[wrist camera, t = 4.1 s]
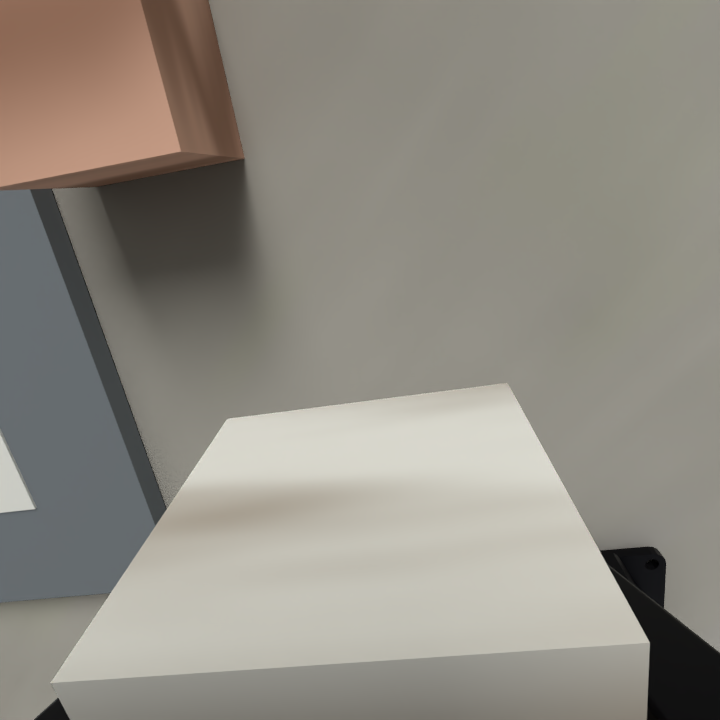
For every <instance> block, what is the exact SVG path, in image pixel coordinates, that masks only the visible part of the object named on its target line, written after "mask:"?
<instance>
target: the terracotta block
mask: <svg viewBox="0 0 720 720" xmlns="http://www.w3.org/2000/svg"><path fill="white" fill-rule="evenodd" d="M240 159H245V158H244V154H243V149H242V145H241V141H240V136H239V132H238V128H237V123H236V119H235V115H234V110H233V106H232V102H231V97H230V93H229V89H228V84H227V80H226V75H225V71H224V67H223V62H222V58H221V54H220V49H219V45H218V41H217V36H216V32H215V28H214V23H213V19H212V15H211V10H210V6H209V2H208V0H0V191H1V190H27V189H53V188H78V187H98V186H103V185H109V184H114V183H119V182H124V181H130V180H135V179H140V178H145V177H151V176H156V175H161V174H166V173H171V172H177V171H182V170H187V169H192V168H198V167H203V166H208V165H213V164H219V163H224V162H229V161H234V160H240Z"/></svg>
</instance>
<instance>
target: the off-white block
mask: <svg viewBox="0 0 720 720" xmlns="http://www.w3.org/2000/svg"><path fill="white" fill-rule="evenodd" d="M649 653H650V642H649V640H648V638H647V637H646V635H645V633H644V631H643V629H642V627H641V626H640V624H639V622H638V620H637V618H636V616H635V615H634V613H633V611H632V609H631V607H630V606H629V604H628V602H627V600H626V598H625V596H624V595H623V593H622V591H621V589H620V587H619V586H618V584H617V582H616V580H615V578H614V576H613V575H612V573H611V571H610V569H609V567H608V565H607V564H606V562H605V560H604V558H603V556H602V555H601V553H600V551H599V549H598V547H597V545H596V544H595V542H594V540H593V538H592V536H591V534H590V533H589V531H588V529H587V527H586V525H585V524H584V522H583V520H582V518H581V516H580V514H579V513H578V511H577V509H576V507H575V505H574V503H573V502H572V500H571V498H570V496H569V494H568V493H567V491H566V489H565V487H564V485H563V483H562V482H561V480H560V478H559V476H558V474H557V473H556V471H555V469H554V467H553V465H552V463H551V462H550V460H549V458H548V456H547V454H546V452H545V451H544V449H543V447H542V445H541V443H540V442H539V440H538V438H537V436H536V434H535V432H534V431H533V429H532V427H531V425H530V423H529V421H528V420H527V418H526V416H525V414H524V412H523V411H522V409H521V407H520V405H519V403H518V401H517V400H516V398H515V396H514V394H513V392H512V391H511V389H510V387H509V385H508V383H503V384H495V385H488V386H480V387H472V388H464V389H456V390H449V391H441V392H433V393H425V394H417V395H410V396H402V397H394V398H386V399H379V400H371V401H363V402H355V403H347V404H340V405H332V406H324V407H316V408H309V409H301V410H293V411H285V412H277V413H270V414H262V415H254V416H246V417H238V418H231V419H227V420H226V422H225V423H224V425H223V426H222V428H221V429H220V431H219V432H218V434H217V435H216V437H215V438H214V440H213V441H212V443H211V444H210V445H209V447H208V448H207V450H206V451H205V453H204V454H203V456H202V457H201V459H200V460H199V462H198V463H197V465H196V466H195V468H194V469H193V471H192V472H191V474H190V475H189V477H188V478H187V480H186V481H185V483H184V484H183V486H182V487H181V489H180V490H179V492H178V493H177V495H176V496H175V498H174V499H173V501H172V502H171V504H170V505H169V507H168V508H167V510H166V511H165V513H164V514H163V516H162V517H161V519H160V520H159V522H158V523H157V525H156V526H155V528H154V529H153V531H152V532H151V534H150V535H149V537H148V538H147V540H146V541H145V543H144V544H143V546H142V547H141V549H140V550H139V552H138V553H137V555H136V556H135V558H134V559H133V560H132V562H131V563H130V565H129V566H128V568H127V569H126V571H125V572H124V574H123V575H122V577H121V578H120V580H119V581H118V583H117V584H116V586H115V587H114V589H113V590H112V592H111V593H110V595H109V596H108V598H107V599H106V601H105V602H104V604H103V605H102V607H101V608H100V610H99V611H98V613H97V614H96V616H95V617H94V619H93V620H92V622H91V623H90V625H89V626H88V628H87V629H86V631H85V632H84V634H83V635H82V637H81V638H80V640H79V641H78V643H77V644H76V646H75V647H74V649H73V650H72V652H71V653H70V655H69V656H68V658H67V659H66V661H65V662H64V664H63V665H62V667H61V668H60V670H59V671H58V673H57V674H56V675H55V677H54V678H53V680H52V681H51V685H52V687H53V689H54V691H55V692H56V694H57V696H58V698H59V700H60V702H61V704H62V706H63V707H64V709H65V711H66V713H67V715H68V717H69V719H70V720H647V702H648V677H649Z"/></svg>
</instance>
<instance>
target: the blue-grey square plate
mask: <svg viewBox="0 0 720 720" xmlns="http://www.w3.org/2000/svg"><path fill="white" fill-rule="evenodd" d="M165 511H166V507H165V505H164V502H163V499H162V496H161V494H160V491H159V488H158V485H157V482H156V480H155V477H154V474H153V471H152V468H151V466H150V463H149V460H148V457H147V455H146V452H145V449H144V446H143V443H142V441H141V438H140V435H139V432H138V430H137V427H136V424H135V421H134V418H133V416H132V413H131V410H130V407H129V404H128V402H127V399H126V396H125V393H124V391H123V388H122V385H121V382H120V379H119V377H118V374H117V371H116V368H115V365H114V363H113V360H112V357H111V354H110V352H109V349H108V346H107V343H106V340H105V338H104V335H103V332H102V329H101V327H100V324H99V321H98V318H97V315H96V313H95V310H94V307H93V304H92V301H91V299H90V296H89V293H88V290H87V288H86V285H85V282H84V279H83V276H82V274H81V271H80V268H79V265H78V262H77V260H76V257H75V254H74V251H73V249H72V246H71V243H70V240H69V237H68V235H67V232H66V229H65V226H64V224H63V221H62V218H61V215H60V212H59V210H58V207H57V204H56V201H55V198H54V196H53V193H52V190H51V189H27V190H1V191H0V602H12V601H23V600H35V599H46V598H58V597H70V596H81V595H93V594H104V593H111V592H112V590H113V589H114V587H115V586H116V584H117V583H118V581H119V580H120V578H121V577H122V575H123V574H124V572H125V571H126V569H127V568H128V566H129V565H130V563H131V562H132V560H133V559H134V558H135V556H136V555H137V553H138V552H139V550H140V549H141V547H142V546H143V544H144V543H145V541H146V540H147V538H148V537H149V535H150V534H151V532H152V531H153V529H154V528H155V526H156V525H157V523H158V522H159V520H160V519H161V517H162V516H163V514H164V513H165Z"/></svg>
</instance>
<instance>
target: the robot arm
mask: <svg viewBox="0 0 720 720" xmlns="http://www.w3.org/2000/svg"><path fill="white" fill-rule="evenodd" d="M600 553H601V555H602V556H603V558H604V560H605V562H606V564H607V565H608V567H609V569H610V571H611V573H612V575H613V576H614V578H615V580H616V582H617V584H618V586H619V587H620V589H621V591H622V593H623V595H624V596H625V598H626V600H627V602H628V604H629V606H630V607H631V609H632V611H633V613H634V615H635V616H636V618H637V620H638V622H639V624H640V626H641V627H642V629H643V631H644V633H645V635H646V637H647V638H648V640H649V642H650V653H649V677H648V702H647V720H720V653H719V652H718V651H717V650H716V649H714V648H713V647H712V646H710V645H709V644H708V643H707V642H705V641H704V640H703V639H702V638H700V637H699V636H698V635H697V634H695V633H694V632H693V631H691V630H690V629H689V628H688V627H686V626H685V625H684V624H683V623H681V622H680V621H679V620H678V619H676V618H675V617H674V616H673V615H671V614H670V613H669V612H667V611H666V610H665V609H664V594H665V574H666V561H665V559H664V557H663V556H662V554H661V553H660V552H659V551H658V549H656V548H654V547H640V548H628V549H617V550H605V551H600ZM651 559H653V560H652V561H650V562H647V561H649V560H651ZM34 720H70V719H69V717H68V715H67V713H66V711H65V709H64V707H63V706H62V704H61V702H60V700H59V698H57V699H56V700H55V701H54V702H53V703H52V704H51V705H50V706H48V707H47V708H46V709H45V710H44V711H43V712H42V713H41V714H40V715H38V716H37V717H36V718H35V719H34Z"/></svg>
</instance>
